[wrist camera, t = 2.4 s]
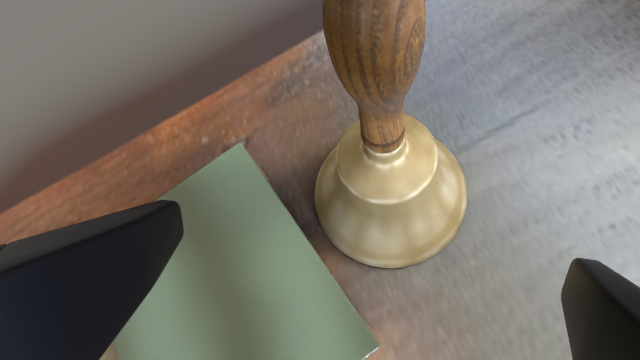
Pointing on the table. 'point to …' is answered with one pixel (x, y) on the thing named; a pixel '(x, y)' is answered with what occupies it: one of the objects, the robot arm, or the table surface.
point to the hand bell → (385, 143)
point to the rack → (242, 281)
